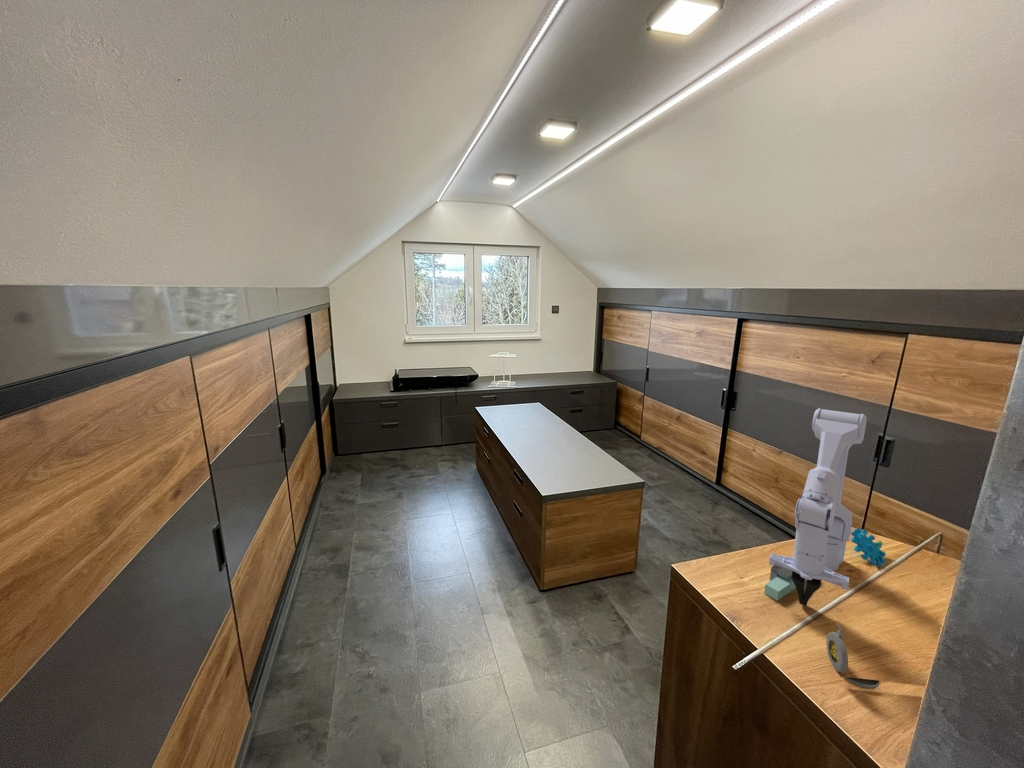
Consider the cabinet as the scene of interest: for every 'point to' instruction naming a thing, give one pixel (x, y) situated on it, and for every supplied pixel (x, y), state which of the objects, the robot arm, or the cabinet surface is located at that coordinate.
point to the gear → (868, 547)
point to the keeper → (780, 572)
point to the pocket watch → (844, 659)
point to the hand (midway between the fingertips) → (803, 602)
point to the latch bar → (779, 587)
